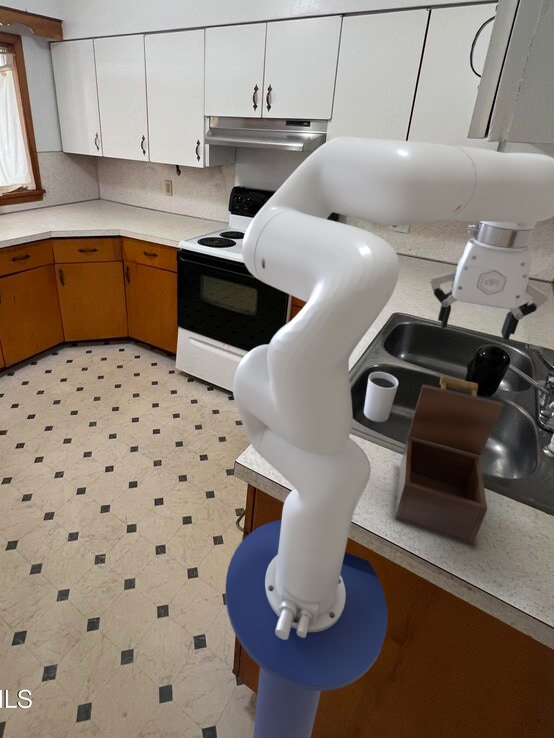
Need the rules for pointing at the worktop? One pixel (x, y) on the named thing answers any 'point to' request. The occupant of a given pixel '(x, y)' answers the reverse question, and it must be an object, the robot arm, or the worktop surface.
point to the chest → (441, 490)
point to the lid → (454, 416)
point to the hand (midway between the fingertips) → (473, 330)
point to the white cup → (380, 396)
